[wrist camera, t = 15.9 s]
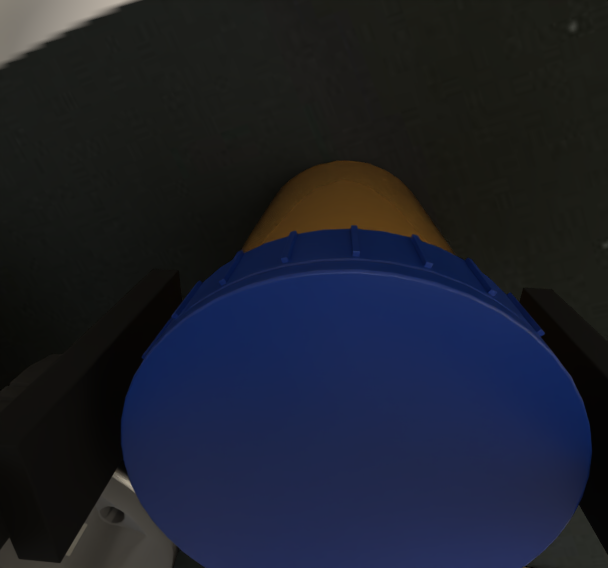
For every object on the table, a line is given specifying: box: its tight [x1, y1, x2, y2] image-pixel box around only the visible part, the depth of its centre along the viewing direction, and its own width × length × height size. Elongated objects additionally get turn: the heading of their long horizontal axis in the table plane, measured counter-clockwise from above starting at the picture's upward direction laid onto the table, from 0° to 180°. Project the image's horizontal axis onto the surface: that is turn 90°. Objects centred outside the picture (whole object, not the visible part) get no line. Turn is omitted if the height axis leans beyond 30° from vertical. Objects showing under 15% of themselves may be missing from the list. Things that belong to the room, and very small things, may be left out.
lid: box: [121, 225, 592, 568], centre depth 8 cm, size 8×8×2 cm
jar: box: [240, 161, 456, 256], centre depth 13 cm, size 7×7×12 cm
